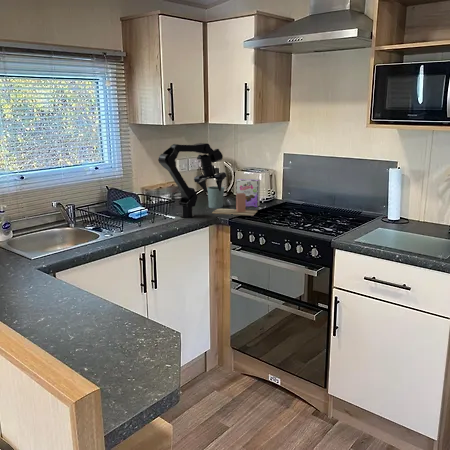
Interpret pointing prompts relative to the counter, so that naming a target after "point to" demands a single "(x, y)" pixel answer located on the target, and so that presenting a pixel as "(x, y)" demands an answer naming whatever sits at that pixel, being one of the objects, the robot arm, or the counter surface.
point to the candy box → (249, 190)
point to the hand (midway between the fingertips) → (213, 191)
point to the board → (234, 212)
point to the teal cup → (215, 197)
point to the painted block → (240, 202)
